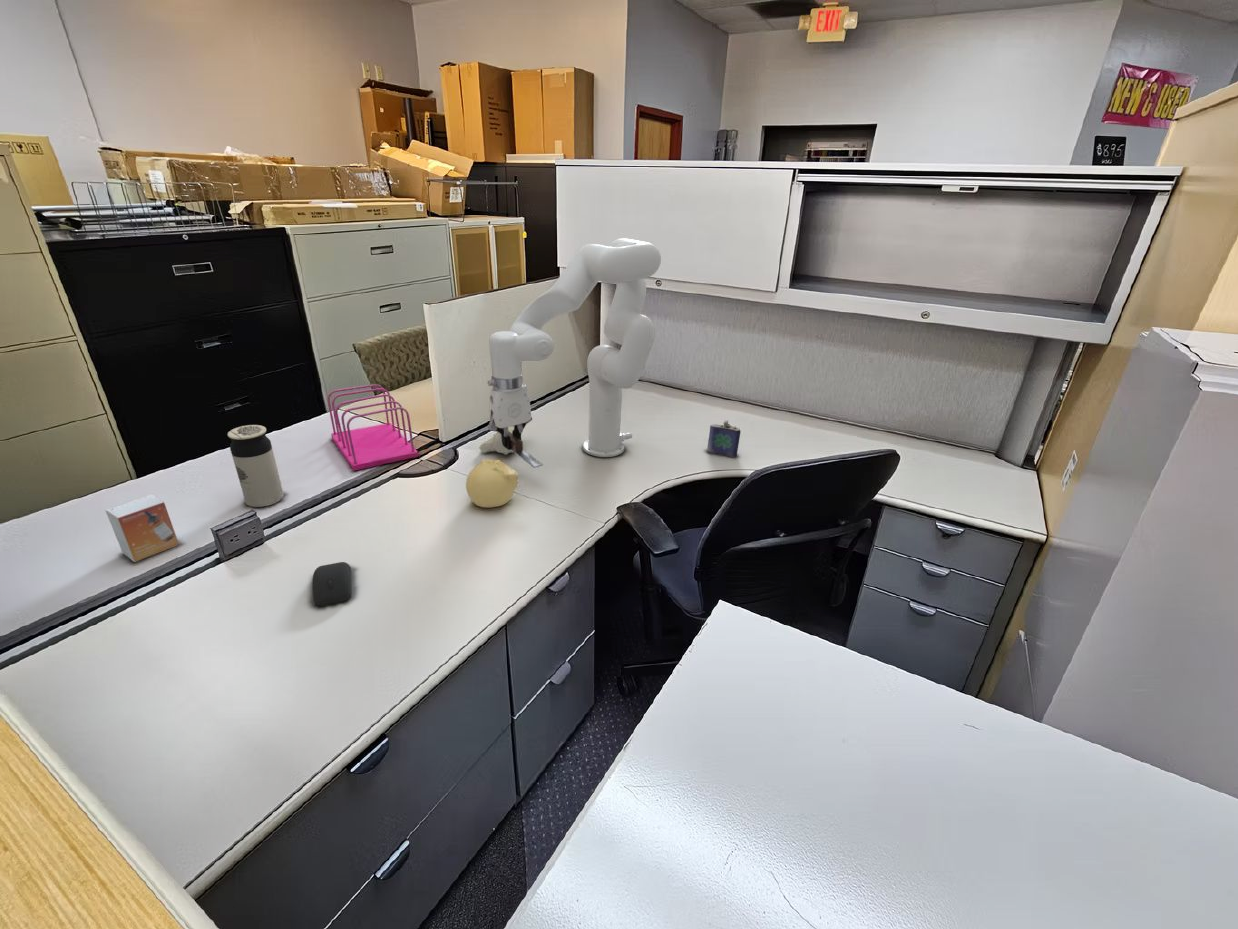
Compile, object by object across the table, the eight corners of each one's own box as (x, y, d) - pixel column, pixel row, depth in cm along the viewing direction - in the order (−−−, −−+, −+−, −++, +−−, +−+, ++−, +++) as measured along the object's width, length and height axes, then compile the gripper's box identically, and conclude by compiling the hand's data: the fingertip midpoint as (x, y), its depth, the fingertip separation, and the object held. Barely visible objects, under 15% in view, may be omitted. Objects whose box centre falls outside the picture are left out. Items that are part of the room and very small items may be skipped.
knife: (500, 442, 152) (500, 432, 151) (509, 440, 154) (508, 430, 152) (534, 468, 140) (533, 457, 139) (543, 465, 141) (542, 454, 140)
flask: (706, 452, 172) (710, 420, 167) (707, 449, 174) (712, 417, 169) (736, 458, 169) (741, 425, 164) (737, 454, 172) (742, 422, 167)
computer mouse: (314, 608, 102) (309, 591, 100) (316, 572, 111) (312, 556, 109) (351, 601, 104) (348, 584, 103) (351, 566, 114) (347, 550, 112)
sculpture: (525, 501, 140) (524, 462, 135) (485, 518, 132) (483, 478, 127) (498, 484, 147) (496, 447, 142) (458, 500, 139) (455, 461, 134)
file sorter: (353, 471, 149) (344, 417, 142) (331, 439, 167) (321, 389, 160) (418, 457, 159) (412, 405, 152) (391, 427, 177) (384, 380, 170)
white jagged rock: (489, 469, 159) (529, 438, 157) (473, 449, 158) (513, 417, 156) (503, 462, 174) (540, 433, 172) (488, 443, 173) (526, 414, 171)
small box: (134, 563, 111) (116, 518, 106) (122, 553, 114) (103, 509, 109) (180, 544, 117) (164, 501, 113) (167, 535, 120) (151, 493, 115)
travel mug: (278, 488, 140) (261, 421, 132) (288, 500, 135) (271, 432, 127) (241, 498, 135) (221, 429, 127) (251, 511, 130) (231, 441, 122)
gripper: (485, 391, 135) (491, 459, 143) (542, 379, 144) (545, 444, 152) (471, 383, 140) (478, 449, 149) (528, 372, 149) (531, 434, 157)
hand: (512, 446), depth 150 cm, fingers closed on knife, 2 cm apart
